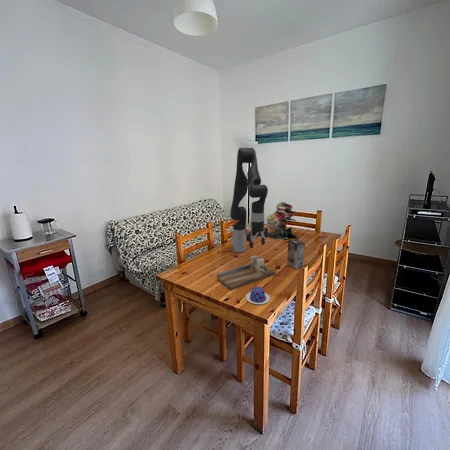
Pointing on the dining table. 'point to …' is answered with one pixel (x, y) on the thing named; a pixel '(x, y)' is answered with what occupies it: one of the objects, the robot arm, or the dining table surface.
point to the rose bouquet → (281, 221)
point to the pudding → (258, 296)
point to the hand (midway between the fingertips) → (257, 246)
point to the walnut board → (242, 276)
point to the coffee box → (296, 253)
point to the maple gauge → (257, 264)
